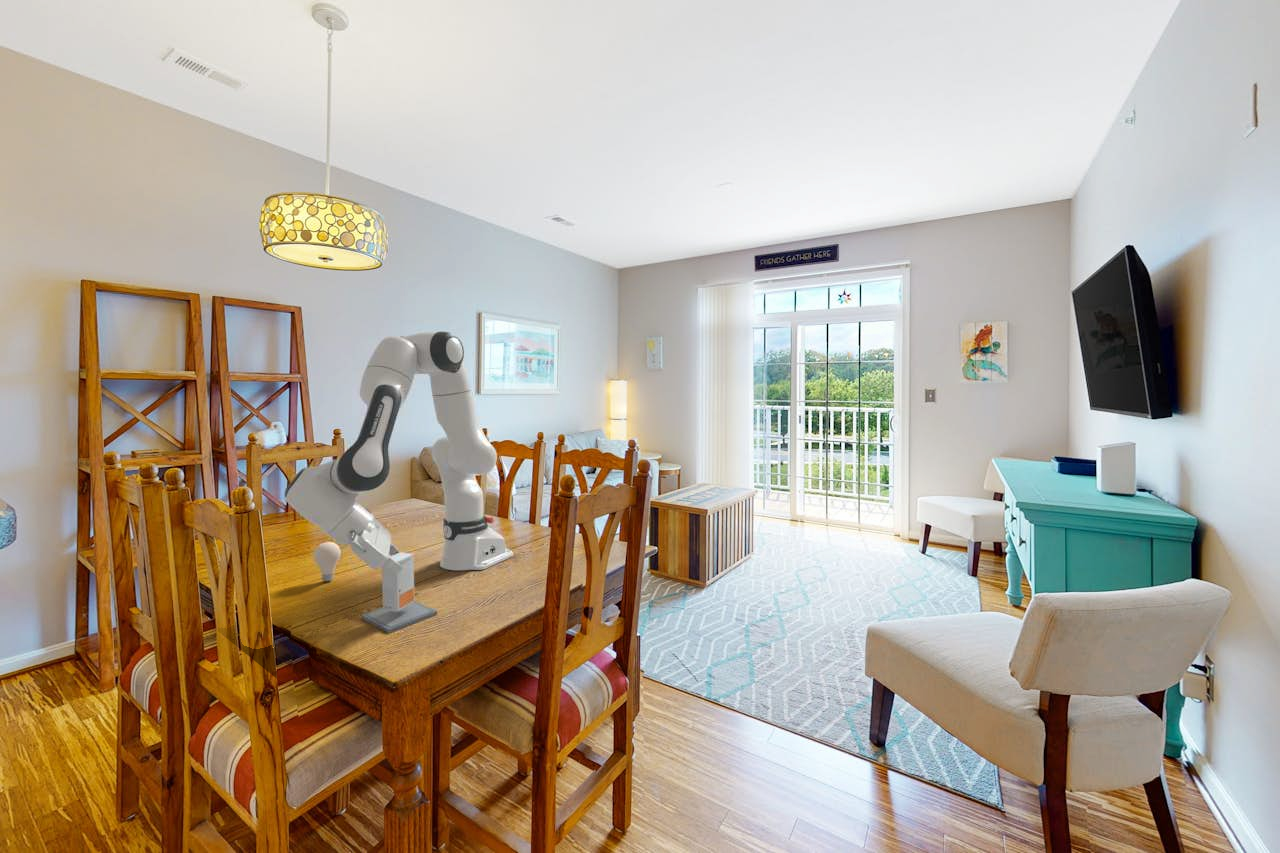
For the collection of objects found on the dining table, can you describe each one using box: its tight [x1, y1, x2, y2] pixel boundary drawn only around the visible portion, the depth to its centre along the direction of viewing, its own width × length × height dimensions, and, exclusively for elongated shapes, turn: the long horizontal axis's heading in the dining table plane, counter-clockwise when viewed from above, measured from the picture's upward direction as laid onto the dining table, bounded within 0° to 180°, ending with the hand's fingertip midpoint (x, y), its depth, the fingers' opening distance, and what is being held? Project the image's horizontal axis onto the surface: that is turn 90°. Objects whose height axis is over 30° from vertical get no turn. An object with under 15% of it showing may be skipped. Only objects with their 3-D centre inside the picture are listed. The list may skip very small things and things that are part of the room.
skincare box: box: [381, 551, 416, 612], centre depth 123 cm, size 6×4×12 cm
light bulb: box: [312, 541, 342, 582], centre depth 144 cm, size 7×7×11 cm
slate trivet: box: [360, 600, 438, 634], centre depth 124 cm, size 12×12×1 cm
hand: (400, 564), depth 123 cm, fingers closed on skincare box, 7 cm apart
